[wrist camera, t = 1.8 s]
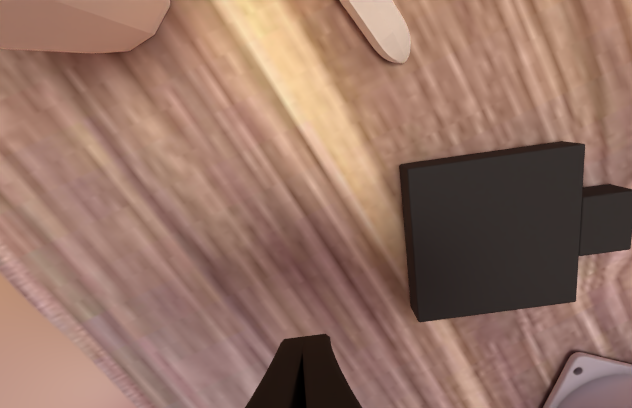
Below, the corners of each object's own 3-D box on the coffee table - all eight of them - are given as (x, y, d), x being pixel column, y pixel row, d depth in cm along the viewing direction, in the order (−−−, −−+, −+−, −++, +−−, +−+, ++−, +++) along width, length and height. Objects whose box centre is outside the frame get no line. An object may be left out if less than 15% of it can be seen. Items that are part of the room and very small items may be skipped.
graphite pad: (410, 307, 19) (418, 323, 18) (399, 164, 17) (407, 168, 15) (602, 281, 19) (626, 295, 17) (613, 133, 17) (642, 135, 15)
